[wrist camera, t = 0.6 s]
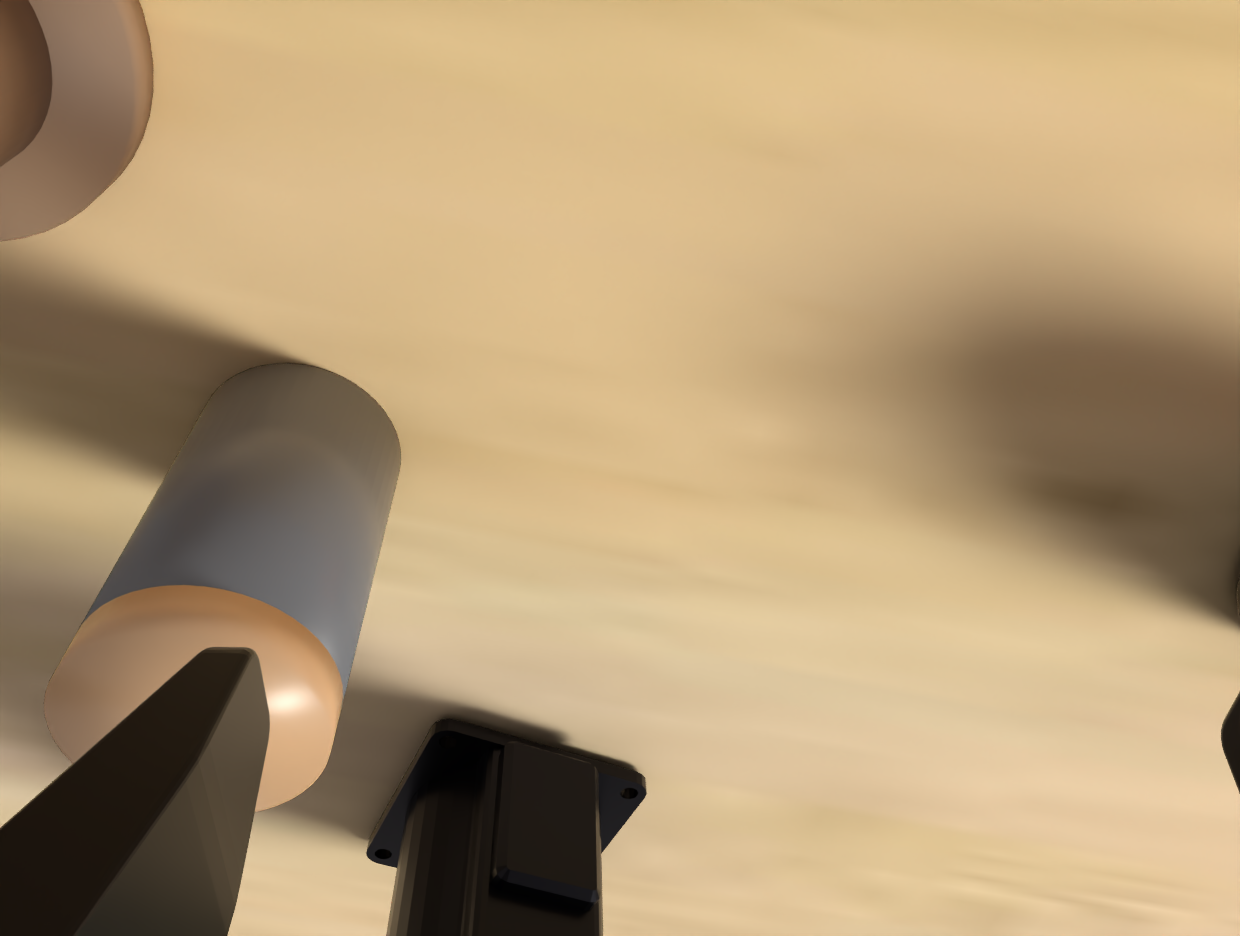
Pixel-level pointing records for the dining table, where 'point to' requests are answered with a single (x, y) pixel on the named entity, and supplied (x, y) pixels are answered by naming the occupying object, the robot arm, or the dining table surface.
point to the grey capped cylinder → (246, 567)
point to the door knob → (68, 105)
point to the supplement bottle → (1238, 595)
